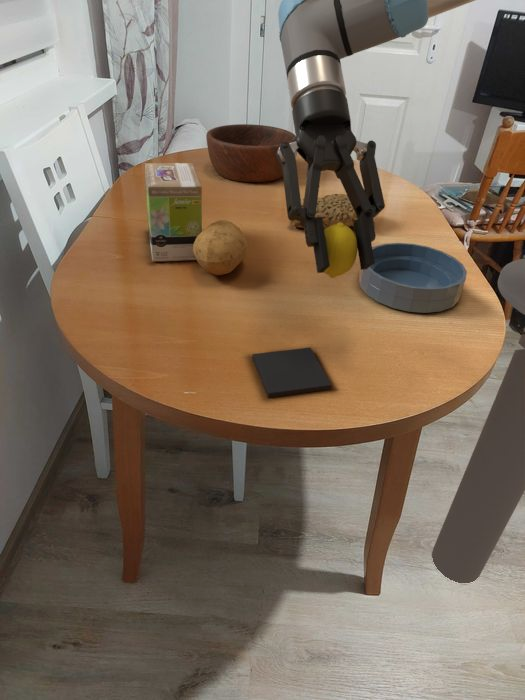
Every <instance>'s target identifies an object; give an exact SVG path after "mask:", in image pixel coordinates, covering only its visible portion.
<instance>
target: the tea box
mask: <svg viewBox="0 0 525 700" xmlns="http://www.w3.org/2000/svg"><path fill="white" fill-rule="evenodd" d="M144 182H145V183H144V184H145V201H146V213H147V226H148V236H149V244H150V245H149V246H150V253H151V261H152V262H179V261H180V262H181V261H197V259H196V257H195V255H194V253H193V244H194V242H195V240H196V238H197V236H198V235H199V234H200V233H201V232H202V231H203V190H202V189H203V187H202V184H201V181H200V178H199V176H198V173H197V171H196V168H195V165H194V163H193V162H152V163H151V162H150V163H149V162H146V163H144Z"/></svg>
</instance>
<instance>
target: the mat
mask: <svg viewBox="0 0 525 700" xmlns="http://www.w3.org/2000/svg"><path fill="white" fill-rule="evenodd" d="M251 358H252V360H253V363H254V365H255V368H256V370H257V374H258V376H259V379H260V381H261V383H262V386H263V388H264V390H265V393H266V396H267V398H269V399H270V398H276V397H283V396H290V395H297V394H306V393H312V392H320V391H327V390H331V389H332V387H333V386H332V383H331V381H330V379H329V377H328V375H327V374H326V372H325V370H324V368H323V367H322V364H321V363H320V361H319V360H318V358H317V356H316V354H315V353H314V351H313V349H312V348H311V347H302V348H295V349H293V348H292V349H286V350H285V349H284V350H277V351H276V350H275V351H269V352H268V351H267V352H260V353H259V352H257V353H253V354H252V357H251Z"/></svg>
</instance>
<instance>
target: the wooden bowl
mask: <svg viewBox="0 0 525 700" xmlns="http://www.w3.org/2000/svg"><path fill="white" fill-rule="evenodd" d="M205 136H206V137H205V138H206V146H207V152H208V156H209V160H210V163H211V165H212V168H213V169H214V171H215V173H216V174H218V175H219V176H221V177H223V178H225V179H228V180H232V181H236V182H241V183H268V182H273V181H277V180H280V179H281V178H283V170H282V166H281V164H280V162H279V160H278V158H277V152H278V149H279V147H280V145H281V143H282V142H283V141H286V142H288V143H292V142H295V140H296V134H295V133H293V132H291V131H289V130H288V129H284V128H280V127H276V126H270V125H263V124H249V123H248V124H247V123H246V124H245V123H244V124H243V123H241V124H236V123H235V124H228V125H220V126H216V127H214V128H211V129H210V130H208V131H207V132H206V135H205Z"/></svg>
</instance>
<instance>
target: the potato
mask: <svg viewBox="0 0 525 700" xmlns="http://www.w3.org/2000/svg"><path fill="white" fill-rule="evenodd" d="M247 251H248V244H247V240H246V238H245V236H244V233H243V231H242V230H241V228H240V227H239V226H237V225H236V224H235V223H233V222H232V221H228V220H224V219H222V220H221V219H220V220H217V221H215V222H212V223H211V224H209V225H208V226H207V227H206V228H205V229H202V232H201V233H200V234H199V235H198V236H197V238H196V240H195V242H194V244H193V253H194V255H195V257H196V259H197V260H196V262H197V263H198V265H199V266H200V267H201V268H202V269H204V270H205V271H206V273H208V274H211V275H212V274H213V275H214V276H223V275H226V274H230V273H231V272H232V271H234V270H235V268H237V267H238V265H239V264H240V263H241V262H242V261H243V260H244V259H245V257H246V255H247Z"/></svg>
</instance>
